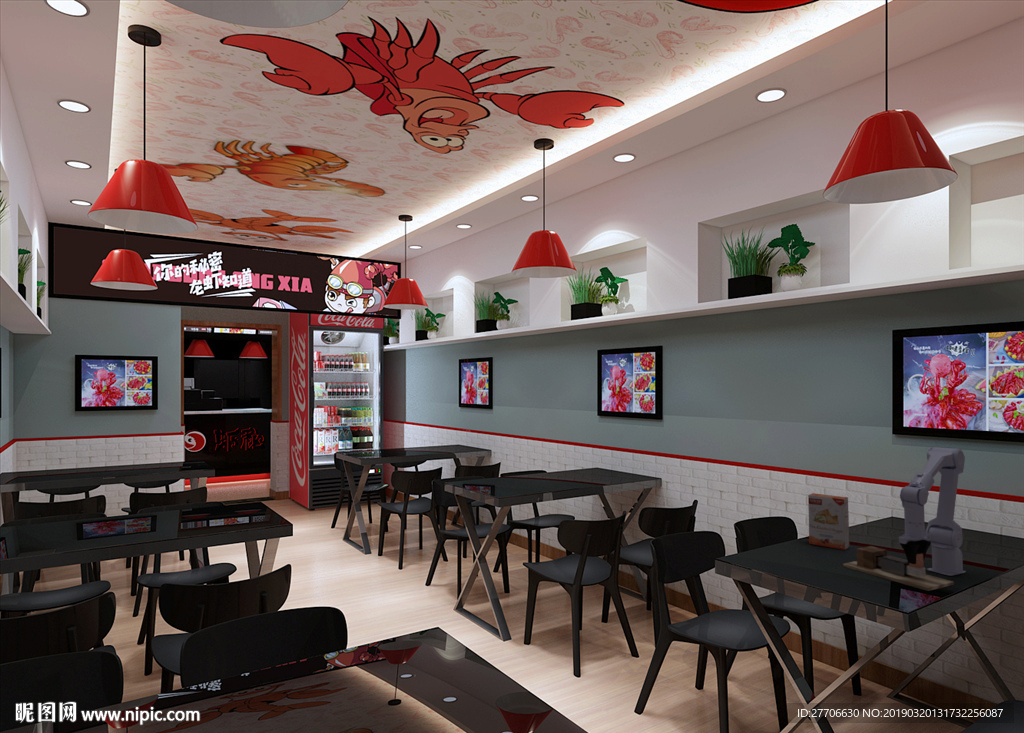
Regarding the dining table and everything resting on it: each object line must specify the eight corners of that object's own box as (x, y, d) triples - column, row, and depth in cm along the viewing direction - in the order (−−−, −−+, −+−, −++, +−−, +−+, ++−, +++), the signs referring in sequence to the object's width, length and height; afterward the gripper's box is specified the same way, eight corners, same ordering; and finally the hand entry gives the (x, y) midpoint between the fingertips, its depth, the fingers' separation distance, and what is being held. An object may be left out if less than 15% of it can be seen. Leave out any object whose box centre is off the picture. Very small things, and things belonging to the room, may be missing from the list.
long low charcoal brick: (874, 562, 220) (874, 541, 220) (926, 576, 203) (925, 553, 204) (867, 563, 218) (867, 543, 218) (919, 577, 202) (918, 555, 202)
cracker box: (808, 544, 253) (807, 494, 253) (813, 541, 257) (812, 492, 258) (845, 550, 243) (843, 498, 243) (849, 547, 247) (848, 496, 248)
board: (867, 561, 227) (867, 558, 227) (953, 584, 200) (953, 581, 200) (842, 566, 221) (842, 563, 221) (928, 591, 194) (928, 587, 194)
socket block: (871, 562, 223) (870, 545, 223) (887, 566, 218) (886, 549, 218) (857, 565, 220) (856, 548, 220) (872, 569, 214) (872, 552, 214)
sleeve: (889, 568, 215) (889, 555, 215) (912, 574, 208) (912, 560, 208) (881, 570, 213) (880, 556, 213) (904, 576, 206) (903, 562, 206)
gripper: (913, 526, 198) (914, 568, 198) (939, 522, 205) (941, 562, 204) (892, 522, 205) (893, 562, 204) (918, 518, 211) (919, 557, 210)
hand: (915, 562), depth 205 cm, fingers closed on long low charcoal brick, 4 cm apart
